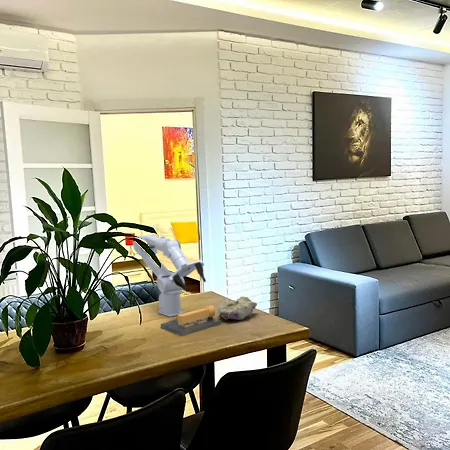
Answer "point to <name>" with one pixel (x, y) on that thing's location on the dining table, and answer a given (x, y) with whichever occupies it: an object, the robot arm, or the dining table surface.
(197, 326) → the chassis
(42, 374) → the dining table surface
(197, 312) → the orange rectangular block
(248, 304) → the geode
